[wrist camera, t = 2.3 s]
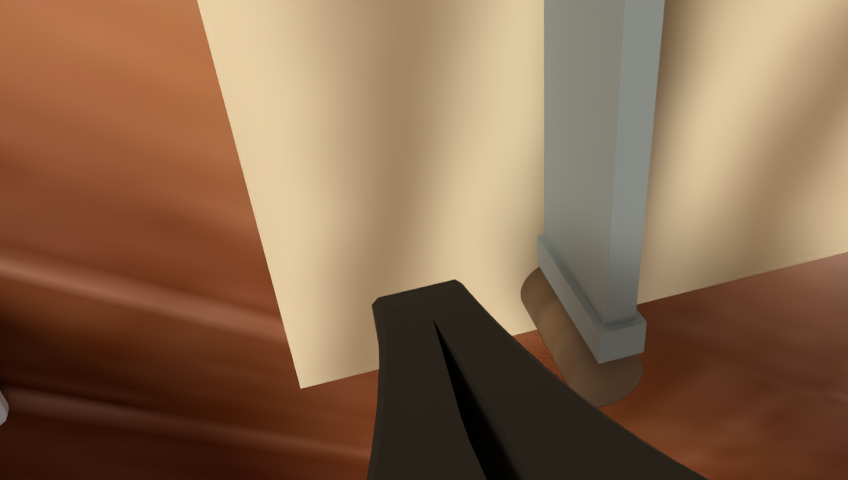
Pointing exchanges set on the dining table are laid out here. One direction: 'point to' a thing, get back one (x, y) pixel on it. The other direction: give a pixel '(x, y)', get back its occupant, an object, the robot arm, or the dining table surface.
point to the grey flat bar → (598, 162)
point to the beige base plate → (516, 159)
